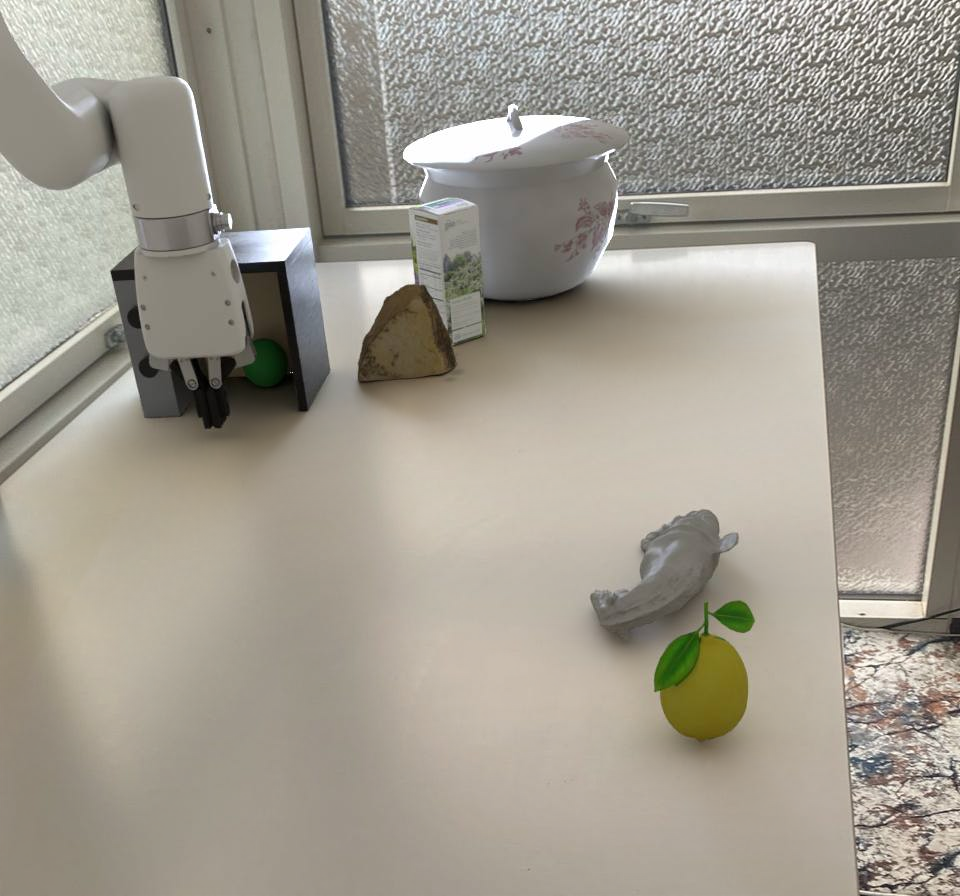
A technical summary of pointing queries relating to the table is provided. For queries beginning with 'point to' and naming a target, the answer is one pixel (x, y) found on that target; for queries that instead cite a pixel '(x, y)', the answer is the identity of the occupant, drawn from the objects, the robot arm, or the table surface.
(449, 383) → the table surface
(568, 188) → the chamber pot
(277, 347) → the ball
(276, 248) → the mini oven
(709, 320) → the table surface
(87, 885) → the table surface
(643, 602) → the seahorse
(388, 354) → the rock
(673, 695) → the lemon
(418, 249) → the syrup box
